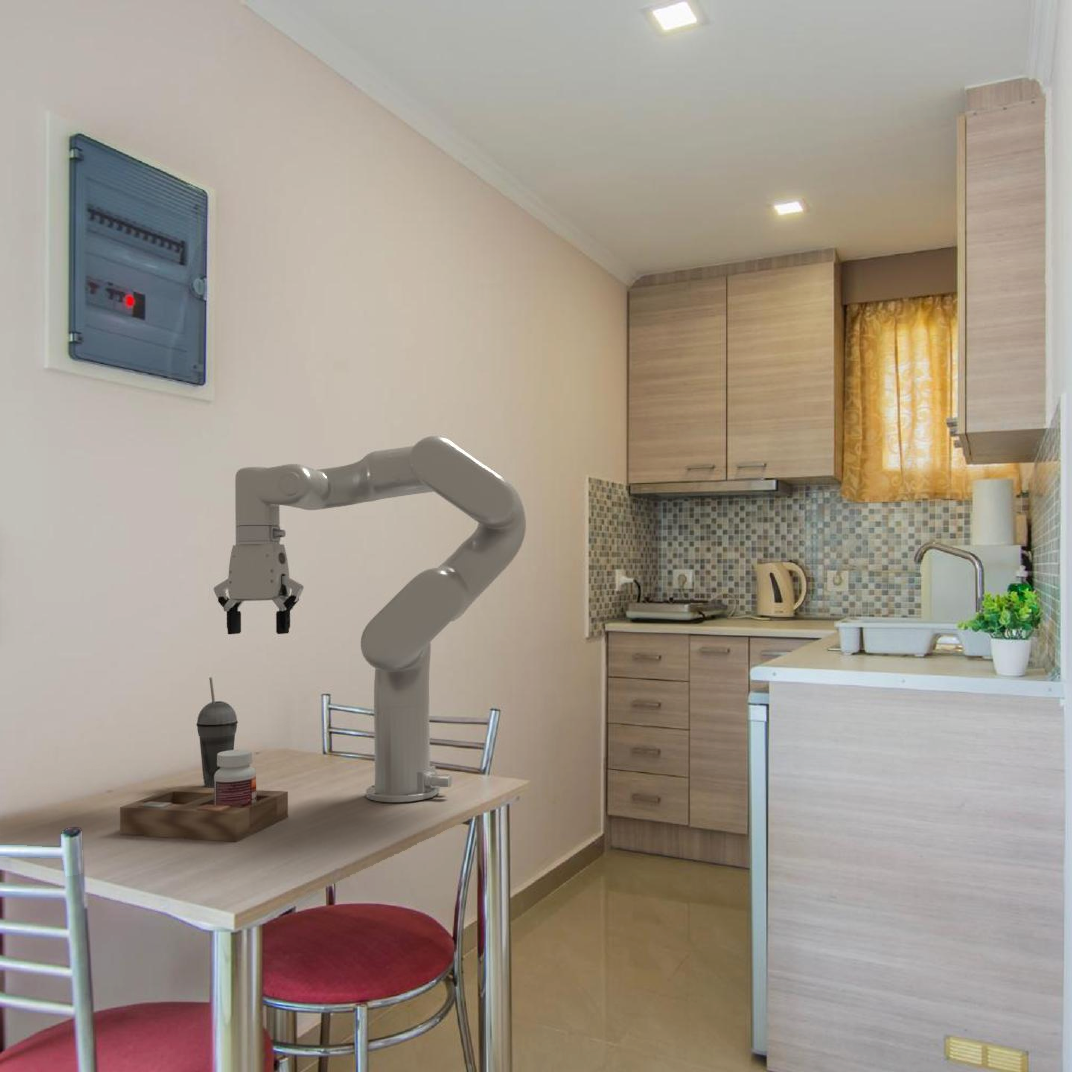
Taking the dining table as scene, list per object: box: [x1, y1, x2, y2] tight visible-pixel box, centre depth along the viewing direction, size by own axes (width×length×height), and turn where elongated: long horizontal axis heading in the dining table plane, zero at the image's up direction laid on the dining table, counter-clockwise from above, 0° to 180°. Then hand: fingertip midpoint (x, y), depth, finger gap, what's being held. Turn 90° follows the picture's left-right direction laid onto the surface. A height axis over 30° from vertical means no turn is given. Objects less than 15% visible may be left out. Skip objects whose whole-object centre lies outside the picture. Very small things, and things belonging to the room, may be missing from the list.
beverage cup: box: [195, 677, 239, 788], centre depth 171 cm, size 7×7×20 cm
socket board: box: [119, 786, 289, 843], centre depth 143 cm, size 20×14×4 cm
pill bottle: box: [214, 749, 257, 808], centre depth 142 cm, size 6×6×11 cm
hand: (258, 633), depth 163 cm, fingers open, 9 cm apart
